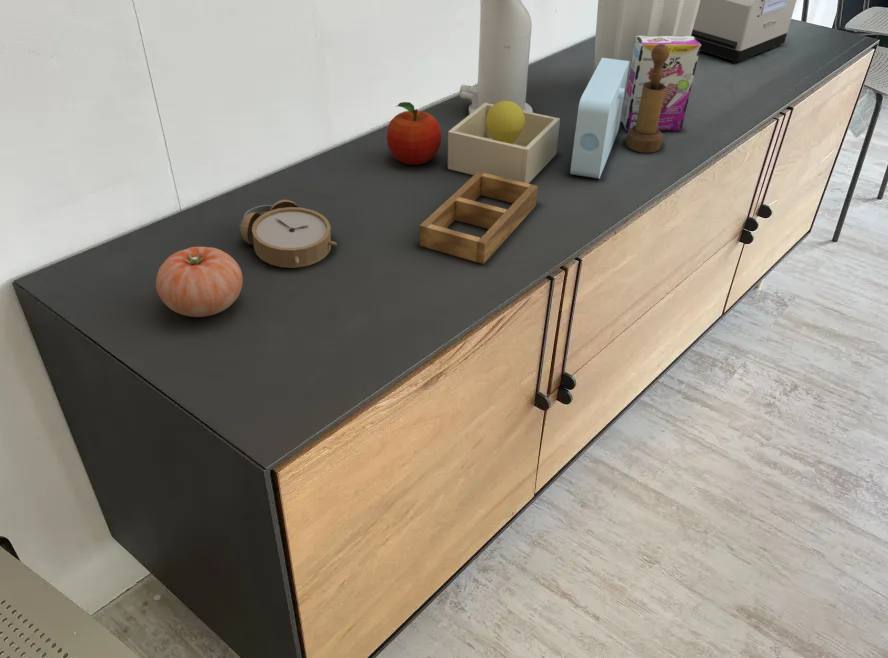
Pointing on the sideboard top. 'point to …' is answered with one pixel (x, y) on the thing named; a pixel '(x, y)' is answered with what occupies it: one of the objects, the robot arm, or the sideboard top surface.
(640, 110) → the mortar and pestle
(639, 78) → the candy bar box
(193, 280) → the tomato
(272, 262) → the alarm clock
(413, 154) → the fruit
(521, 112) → the light bulb
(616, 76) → the radio
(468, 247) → the wooden frame
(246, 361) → the sideboard top surface
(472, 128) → the wooden box
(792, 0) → the toaster
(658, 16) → the vase
